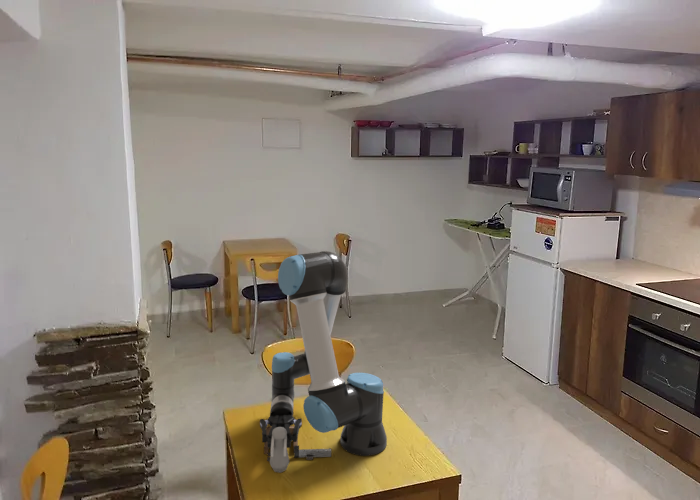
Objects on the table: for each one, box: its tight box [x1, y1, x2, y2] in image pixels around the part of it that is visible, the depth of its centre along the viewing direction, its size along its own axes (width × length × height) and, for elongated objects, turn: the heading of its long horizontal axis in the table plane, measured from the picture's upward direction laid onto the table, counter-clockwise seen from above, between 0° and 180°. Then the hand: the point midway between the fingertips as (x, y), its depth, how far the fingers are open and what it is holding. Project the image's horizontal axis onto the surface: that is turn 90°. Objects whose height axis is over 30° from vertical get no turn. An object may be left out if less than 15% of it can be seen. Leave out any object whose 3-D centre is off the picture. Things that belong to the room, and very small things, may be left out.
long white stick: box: [293, 445, 332, 459], centre depth 169 cm, size 12×1×3 cm, turn 95°
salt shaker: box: [269, 427, 290, 473], centre depth 162 cm, size 6×6×13 cm
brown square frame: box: [263, 425, 314, 462], centre depth 175 cm, size 15×16×2 cm
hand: (278, 452), depth 156 cm, fingers closed on salt shaker, 3 cm apart
